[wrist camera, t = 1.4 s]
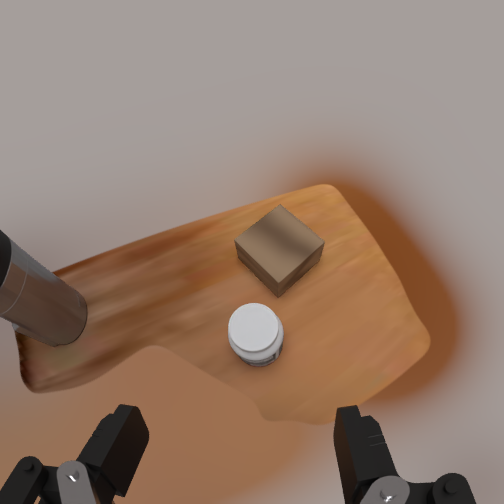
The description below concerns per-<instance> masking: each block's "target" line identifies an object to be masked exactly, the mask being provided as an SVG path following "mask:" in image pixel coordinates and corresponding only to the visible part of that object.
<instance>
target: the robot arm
mask: <svg viewBox="0 0 504 504" xmlns="http://www.w3.org/2000/svg"><path fill="white" fill-rule="evenodd" d="M0 317H2V318H4V319H5V320H8V321H10V322H11V323H12V326H13V329H14V330H15V331H17V332H20V333H22V334H24V335H26V336H29V337H31V338H33V339H36V340H38V341H41V342H43V343H45V344H48V345H50V346H53V347H55V346H56V345H58V344H68V343H71V342H73V341H74V340H75V339H76V338H77V337H78V336H79V335H80V334H81V332H82V330H83V328H84V325H85V323H86V317H87V308H86V303H85V300H84V298H83V297H82V295H81V294H80V293H79V292H77V291H76V290H75V289H73V288H72V287H71V286H69V285H68V284H66V283H65V282H64V281H62V280H61V279H60V278H58V277H57V276H55V275H54V274H53V273H52V272H50V271H49V270H47V269H46V268H45V267H44V266H42V265H41V264H40V263H39V262H37V261H36V260H34V258H32V257H31V256H30V255H29V254H27V253H26V252H25V251H24V250H23V249H21V248H20V247H19V246H18V245H17V244H16V243H14V242H13V241H12V240H11V239H10V238H9V237H8V236H7V235H5V234H4V233H3V232H2V231H1V230H0ZM148 441H149V431H148V428H147V426H146V424H145V421H144V419H143V417H142V415H141V412H140V410H139V408H138V407H136V406H129V405H123V404H120V405H119V406H118V407H117V409H116V410H115V412H114V414H109V415H107V416H106V417H105V418H103V419H102V420H101V421H100V423H99V425H98V426H97V428H96V430H95V431H94V432H93V434H92V437H90V439H89V440H88V442H87V444H86V445H85V447H84V448H83V450H82V452H81V454H80V455H79V457H78V458H77V459H76V461H67V462H65V463H63V464H62V465H61V466H60V467H52V466H44V465H43V464H42V463H41V462H40V461H39V459H37V458H36V457H33V456H28V457H24V458H22V459H21V460H20V461H19V462H18V464H17V465H16V467H15V468H14V470H13V471H12V473H11V474H10V476H9V478H8V479H7V481H6V482H5V484H4V486H3V487H2V489H1V491H0V504H34V502H35V500H36V498H37V497H38V496H39V497H41V499H40V501H39V503H38V504H115V503H114V501H113V498H114V496H115V495H118V496H121V497H125V495H126V493H127V490H128V488H129V486H130V483H131V481H132V479H133V476H134V474H135V472H136V469H137V467H138V464H139V462H140V460H141V458H142V455H143V453H144V451H145V448H146V446H147V444H148ZM334 446H335V451H336V457H337V462H338V467H339V472H340V477H341V483H342V488H343V494H344V499H345V504H476V502H475V499H474V496H473V494H472V492H471V489H470V486H469V484H468V482H467V480H466V478H465V477H463V476H462V475H460V474H457V473H448V474H445V475H443V476H441V477H440V478H439V479H437V481H436V482H431V483H410V482H407V481H405V480H404V479H402V478H401V477H400V476H399V475H398V474H397V471H396V469H395V466H394V463H393V461H392V458H391V455H390V452H389V449H388V447H387V444H386V443H385V439H384V436H383V435H382V431H381V428H380V426H379V423H378V422H377V421H375V419H373V418H372V417H371V416H370V415H369V416H364V417H361V415H360V412H359V409H358V407H357V405H354V406H347V407H340V408H337V412H336V420H335V427H334Z"/></svg>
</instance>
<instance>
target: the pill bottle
mask: <svg viewBox="0 0 504 504" xmlns="http://www.w3.org/2000/svg"><path fill="white" fill-rule="evenodd" d="M283 337H284V331H283V326H282V323H281V321H280V319H279V318H278V317H277V315H276V314H274V312H273V311H272V310H271V309H270V308H268V307H267V306H265V305H262V304H258V303H249V304H246V305H243V306H241V307H239V308H238V309H237V310H236V311H235V312H234V313H233V314H232V316H231V318H230V321H229V326H228V338H229V342H230V345H231V347H232V349H233V350H234V351H235V352H236V353H237V355H238V356H239V357H240V358H241V359H242V360H243V361H244V362H246V363H247V364H249V365H252V366H257V367H260V366H266V365H269V364H271V363H272V362H274V361H275V360H276V359H277V358H278V356H279V355H280V353H281V350H282V345H283Z"/></svg>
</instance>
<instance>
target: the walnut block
mask: <svg viewBox="0 0 504 504" xmlns="http://www.w3.org/2000/svg"><path fill="white" fill-rule="evenodd" d="M234 241H235V245H236V249H237V254H238V258H239V259H240V260H241V261H242V262H243V263H244V264H245V265H246V266H247V267H248V268H249V269H250V270H251V271H252V272H253V273H254V274H255V275H256V276H257V277H258V278H259V279H260V280H261V281H262V282H263V283H264V284H265V285H266V286H267V287H268V288H269V289H270V290H271V291H272V292H273V293H274V294H275V295H276V296H277V297H280V296H281V295H282V294H283V293H284V292H285V291H286V290H287V289H288V288H290V287H291V286H292V285H293V284H294V283H295V282H296V281H297V280H298V279H300V278H301V277H302V276H303V275H304V274H305V273H306V272H307V271H308V270H309V269H311V268H312V267H313V266H314V265H315V264H316V263H317V262H318V261H319V260H320V257H321V254H322V250H323V247H324V243H325V241H324V240H323V239H321V238H320V237H319V236H318V235H317V234H316V233H314V232H313V231H312V230H311V229H310V228H308V227H307V226H306V225H305V224H304V223H302V222H301V221H300V220H299V219H298V218H296V217H295V216H294V215H293V214H292V213H290V212H289V211H288V210H287V209H285V208H284V207H283V206H282V205H281V204H280V205H278V206H277V207H276V208H275V209H273V210H272V211H271V212H269V213H268V214H267V215H265V216H264V217H263V218H261V219H260V220H259V221H258V222H256V223H255V224H254V225H252V226H251V227H250V228H249V229H247V230H246V231H245V232H243V233H242V234H241V235H239V236H238V237H237V238H236V239H234Z"/></svg>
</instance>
